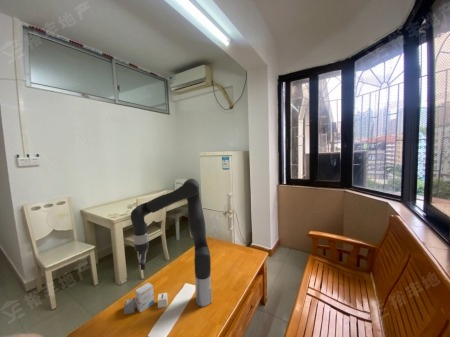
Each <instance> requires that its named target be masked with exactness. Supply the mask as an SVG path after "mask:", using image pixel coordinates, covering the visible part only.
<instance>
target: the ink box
mask: <svg viewBox="0 0 450 337" xmlns="http://www.w3.org/2000/svg"><path fill="white" fill-rule="evenodd" d="M134 294H135V298H136V309H137V310H138V312H139V313H142V312H144V311H146V310H147V309H148V308H149V307H151V306H152V305H154V304H155V297H154V296H155V294H154V285H153V284H152V283H150V282H147V283H145V284H144V285H142V286H140V287H138V288H137V289H135V292H134Z"/></svg>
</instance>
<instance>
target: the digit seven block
mask: <svg viewBox="0 0 450 337" xmlns="http://www.w3.org/2000/svg"><path fill="white" fill-rule="evenodd" d="M123 305H124V306H123V314H124V315H130V314H134V313H135V310H136V309H137V305H136V297H133V298H128V299H125V303H124V304H123Z"/></svg>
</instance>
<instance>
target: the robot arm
mask: <svg viewBox="0 0 450 337" xmlns="http://www.w3.org/2000/svg"><path fill="white" fill-rule="evenodd" d="M183 200H186V201H187V221H188V227H189V231H190V234H191V236H192V238H193V239H192V240H193V242H194V243H193V244H194V261H193V262H194V280H195V284H194V285H195V304H197V305H198V307H202V308H203V307H207V306H208V305H210V304H211V303H213V302H212V298H213V297H212V296H213V295H212V284H211V282H212V281H211V279H212V278H211V271H212V268H211V265H212V264H211V263H212V261H211V252H210V248H209V246H208V241H207V236H206V233H207V232H206V231H207V230H206V229H207V228H206V221H205V216H204V212H203V208H202V203H201V199H200V184H199V183H198V181H197V180H196V179H194V178H188V179H186V180H185V181H184V182H183V184H182V185H181V186H179V187H178V188H176V189H174V190H173V191H169V192H168V193H165V194H162V195H159V196H157V197H155V198H153V199H151V200H149V201H146V202H143V203H141V204H139V205H137V206H136V207H134V209H132V211H131V212H130V221H131V224H132V227H133V248H134V249H133V250H134V251H135V252H138V253H137V261H136V262H137V263H138V266H139V267H140V270H141V271H145V269H146V259H147V250H148V249H149V248H150V244H149V243H150V242H149V233H148V224H147V222H145V217H146V216H147V215H149V214H151V213H152V214H153V213H156V212H159V211H160V210H162V209H165V208H166V207H169V206H171V205H172V204H173V205H174V204H175V203H177V202H180V201H183Z"/></svg>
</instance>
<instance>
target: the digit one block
mask: <svg viewBox="0 0 450 337" xmlns="http://www.w3.org/2000/svg"><path fill="white" fill-rule="evenodd" d="M168 302H169V300H168V292H163V293H158V296H157V309H161V308H166V307H168Z"/></svg>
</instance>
